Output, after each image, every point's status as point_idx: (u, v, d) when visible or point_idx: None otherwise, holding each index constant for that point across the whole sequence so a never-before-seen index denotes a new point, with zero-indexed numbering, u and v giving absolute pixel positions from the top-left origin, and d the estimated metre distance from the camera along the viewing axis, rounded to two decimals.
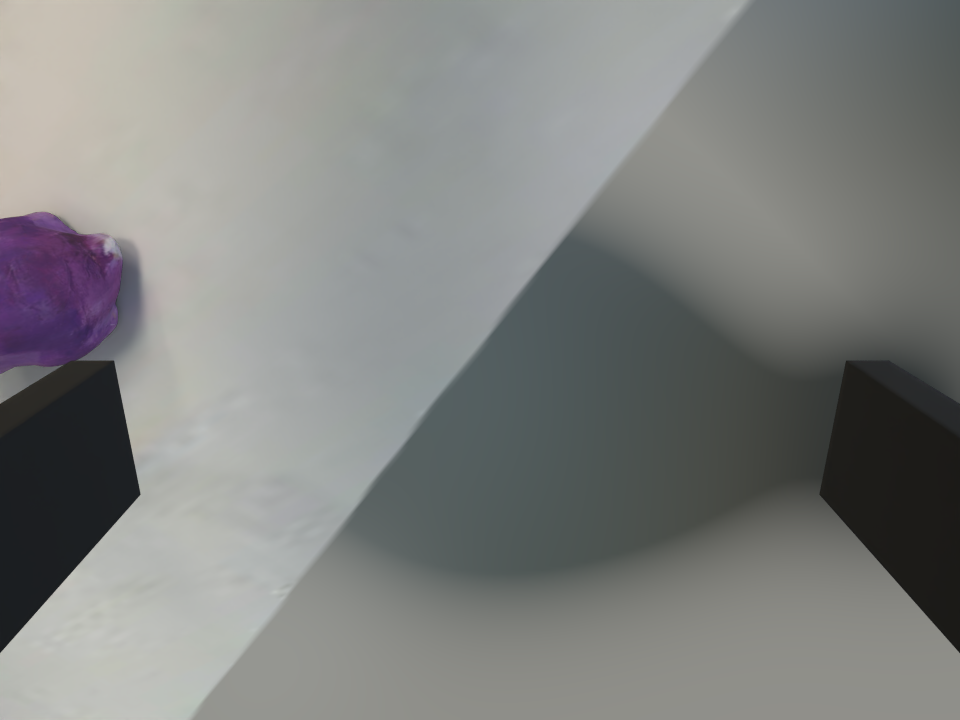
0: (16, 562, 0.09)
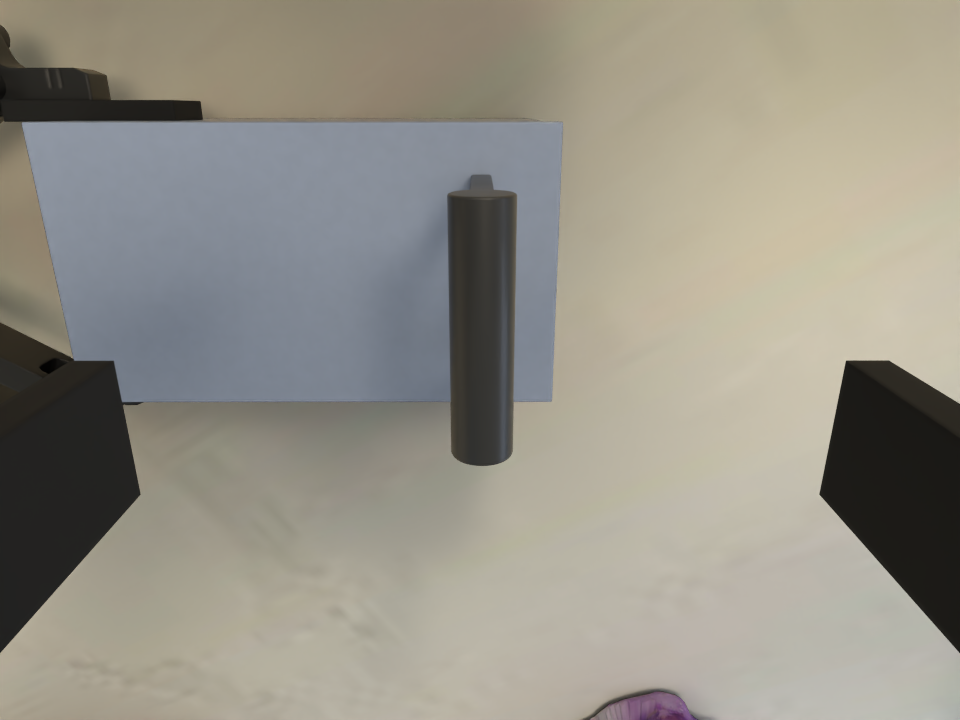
0: (16, 562, 0.09)
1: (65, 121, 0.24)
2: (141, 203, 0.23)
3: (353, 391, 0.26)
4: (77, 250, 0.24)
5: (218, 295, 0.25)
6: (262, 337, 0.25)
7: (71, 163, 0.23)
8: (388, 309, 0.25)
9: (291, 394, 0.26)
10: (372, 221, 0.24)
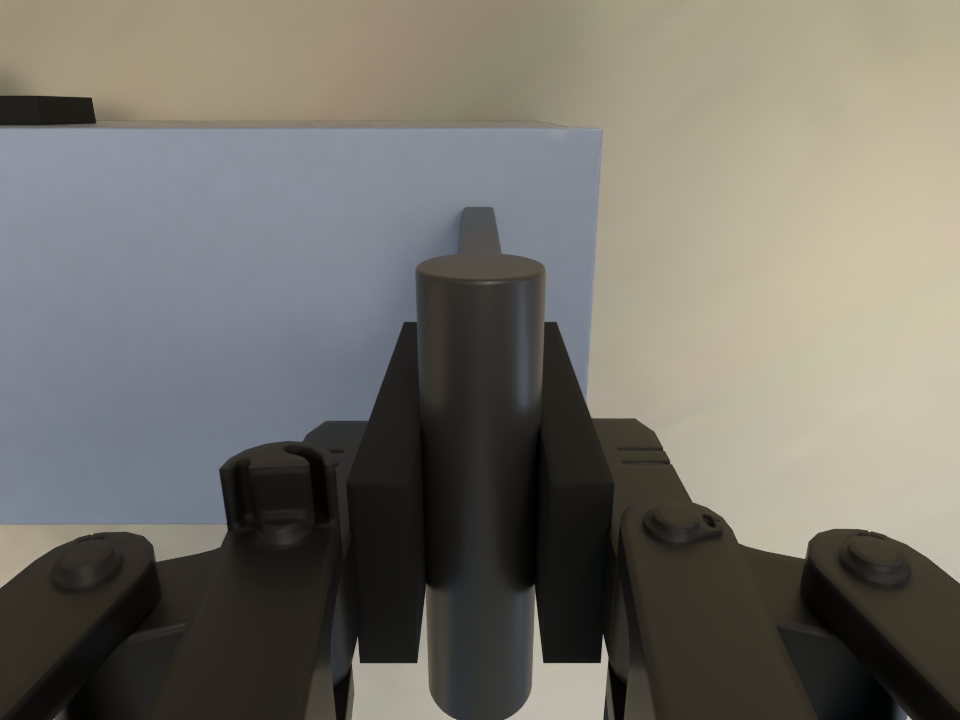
0: None
1: None
2: None
3: None
4: None
5: (96, 379, 0.17)
6: (164, 437, 0.17)
7: None
8: (344, 398, 0.17)
9: (209, 514, 0.18)
10: (318, 275, 0.16)
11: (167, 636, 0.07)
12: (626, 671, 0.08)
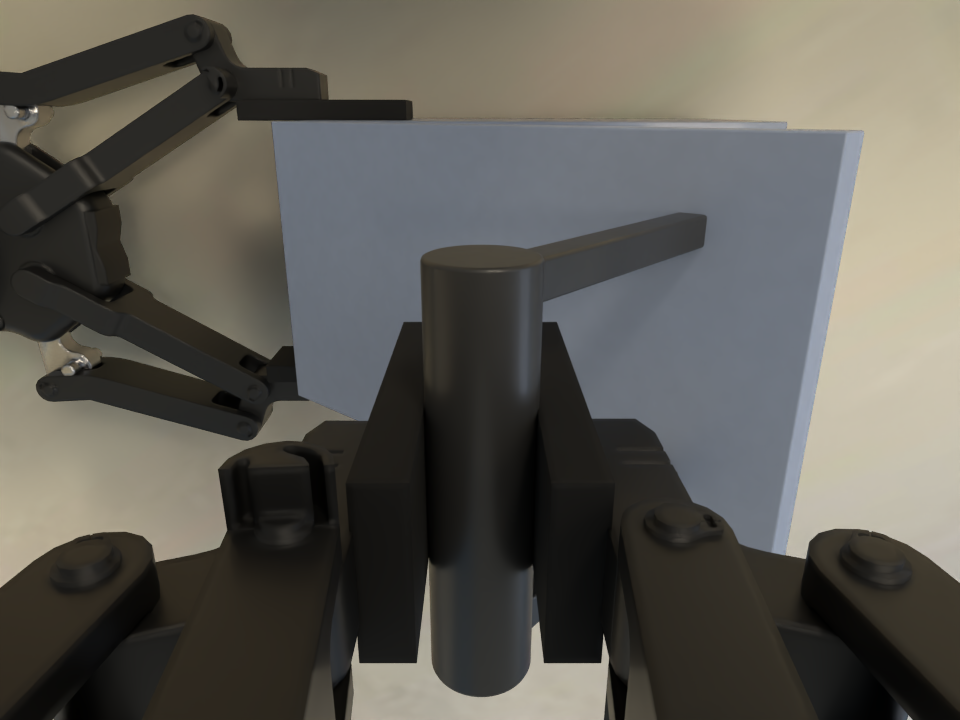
0: None
1: None
2: (342, 209, 0.22)
3: None
4: (299, 250, 0.24)
5: (394, 320, 0.22)
6: None
7: (299, 163, 0.23)
8: None
9: None
10: None
11: (166, 636, 0.07)
12: (627, 671, 0.08)
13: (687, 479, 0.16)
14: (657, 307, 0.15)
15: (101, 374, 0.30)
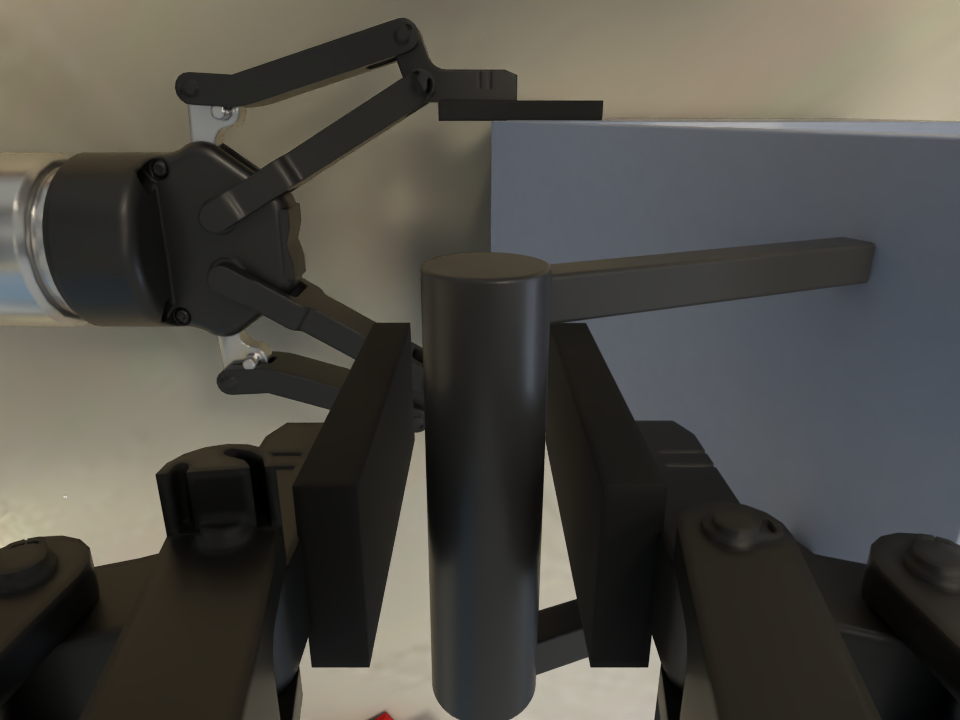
0: (395, 479, 0.12)
1: None
2: (535, 209, 0.22)
3: None
4: (501, 246, 0.25)
5: None
6: None
7: (507, 162, 0.23)
8: (695, 416, 0.16)
9: None
10: None
11: (101, 641, 0.07)
12: (680, 674, 0.08)
13: None
14: (809, 350, 0.13)
15: (279, 368, 0.31)
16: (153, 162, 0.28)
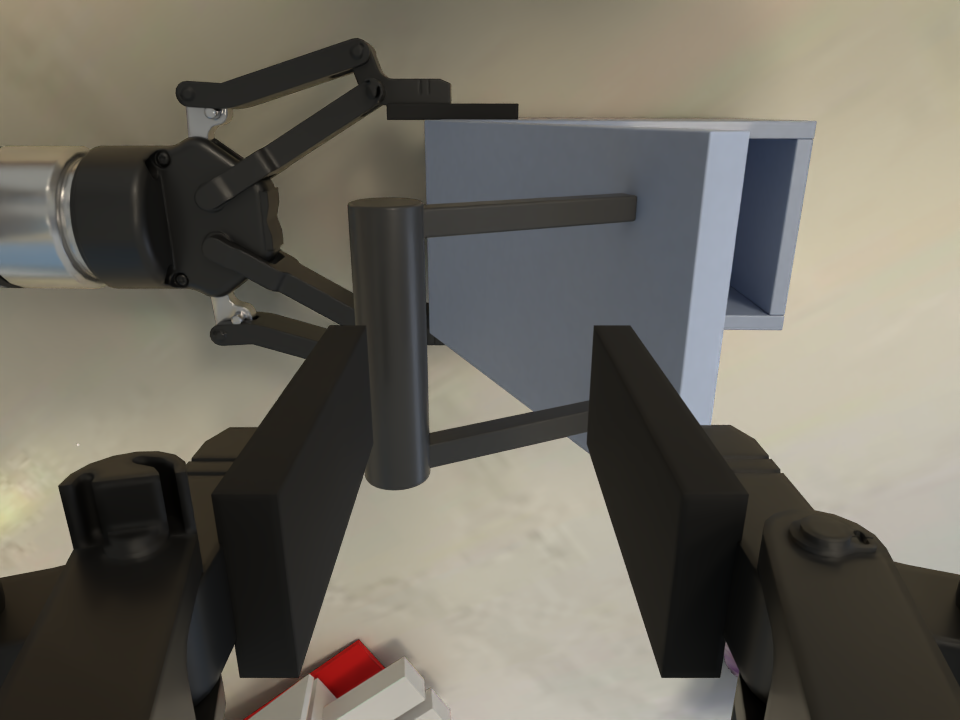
0: (341, 484, 0.11)
1: None
2: (456, 188, 0.29)
3: (532, 399, 0.25)
4: None
5: (478, 274, 0.28)
6: (494, 321, 0.27)
7: (436, 152, 0.30)
8: (557, 327, 0.23)
9: (503, 381, 0.27)
10: (554, 231, 0.22)
11: None
12: (761, 683, 0.07)
13: None
14: (611, 268, 0.20)
15: (261, 323, 0.38)
16: (158, 153, 0.35)
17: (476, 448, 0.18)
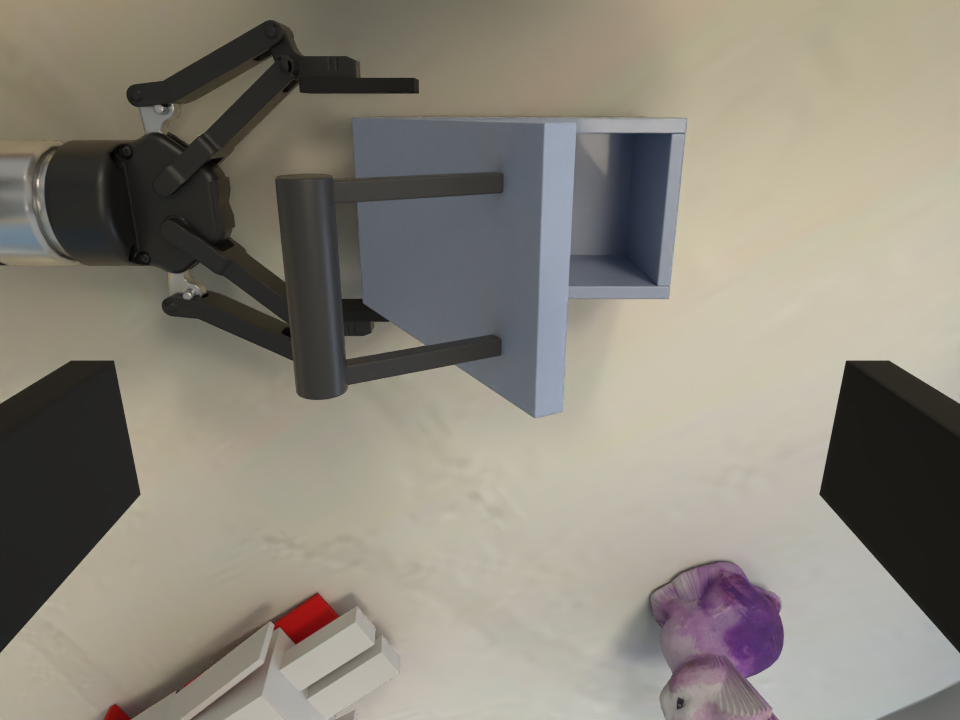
0: (16, 562, 0.09)
1: (377, 117, 0.37)
2: (378, 174, 0.34)
3: None
4: (362, 202, 0.37)
5: (398, 247, 0.33)
6: (411, 285, 0.33)
7: (362, 144, 0.35)
8: (456, 284, 0.28)
9: (420, 335, 0.33)
10: (450, 205, 0.28)
11: None
12: None
13: (505, 343, 0.26)
14: (490, 231, 0.25)
15: (209, 302, 0.43)
16: (121, 147, 0.40)
17: (384, 370, 0.24)
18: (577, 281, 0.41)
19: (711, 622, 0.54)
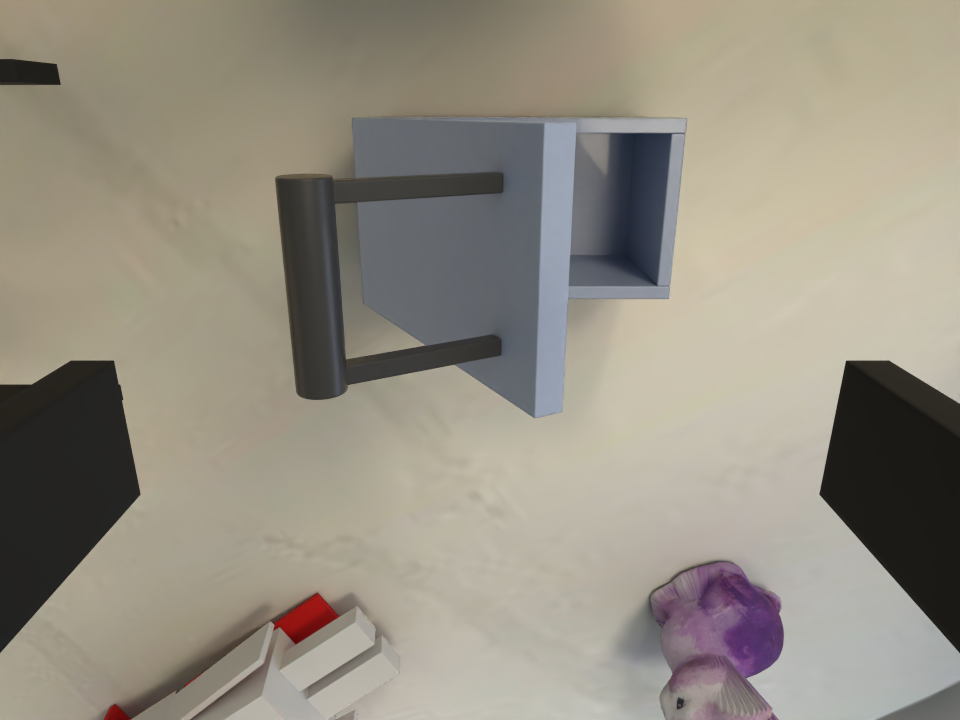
0: (16, 562, 0.09)
1: (377, 117, 0.37)
2: (378, 174, 0.34)
3: None
4: (362, 202, 0.37)
5: (398, 247, 0.33)
6: (411, 285, 0.33)
7: (362, 144, 0.35)
8: (456, 284, 0.28)
9: (420, 335, 0.33)
10: (450, 205, 0.28)
11: None
12: None
13: (505, 343, 0.26)
14: (490, 231, 0.25)
15: None
16: None
17: (384, 370, 0.24)
18: (577, 281, 0.41)
19: (711, 622, 0.54)
